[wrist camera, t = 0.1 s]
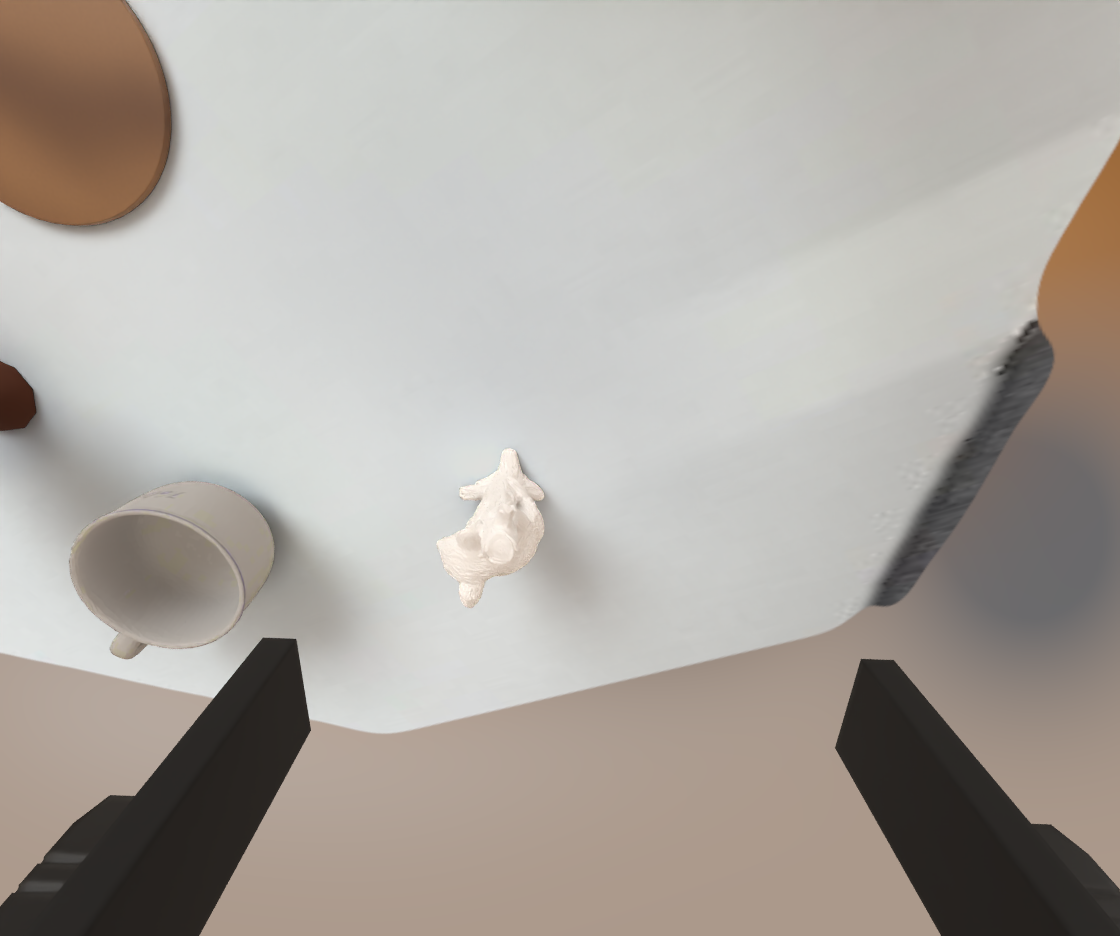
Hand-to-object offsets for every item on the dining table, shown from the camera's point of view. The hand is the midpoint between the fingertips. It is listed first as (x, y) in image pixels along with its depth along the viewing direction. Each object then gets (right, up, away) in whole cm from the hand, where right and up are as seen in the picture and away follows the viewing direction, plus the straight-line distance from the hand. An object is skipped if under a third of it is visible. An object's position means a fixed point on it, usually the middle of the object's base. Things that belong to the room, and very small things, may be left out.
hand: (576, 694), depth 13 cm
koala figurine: (-4, +4, +29) cm, 29 cm away
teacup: (-28, 0, +30) cm, 41 cm away
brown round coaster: (-31, +28, +20) cm, 46 cm away
